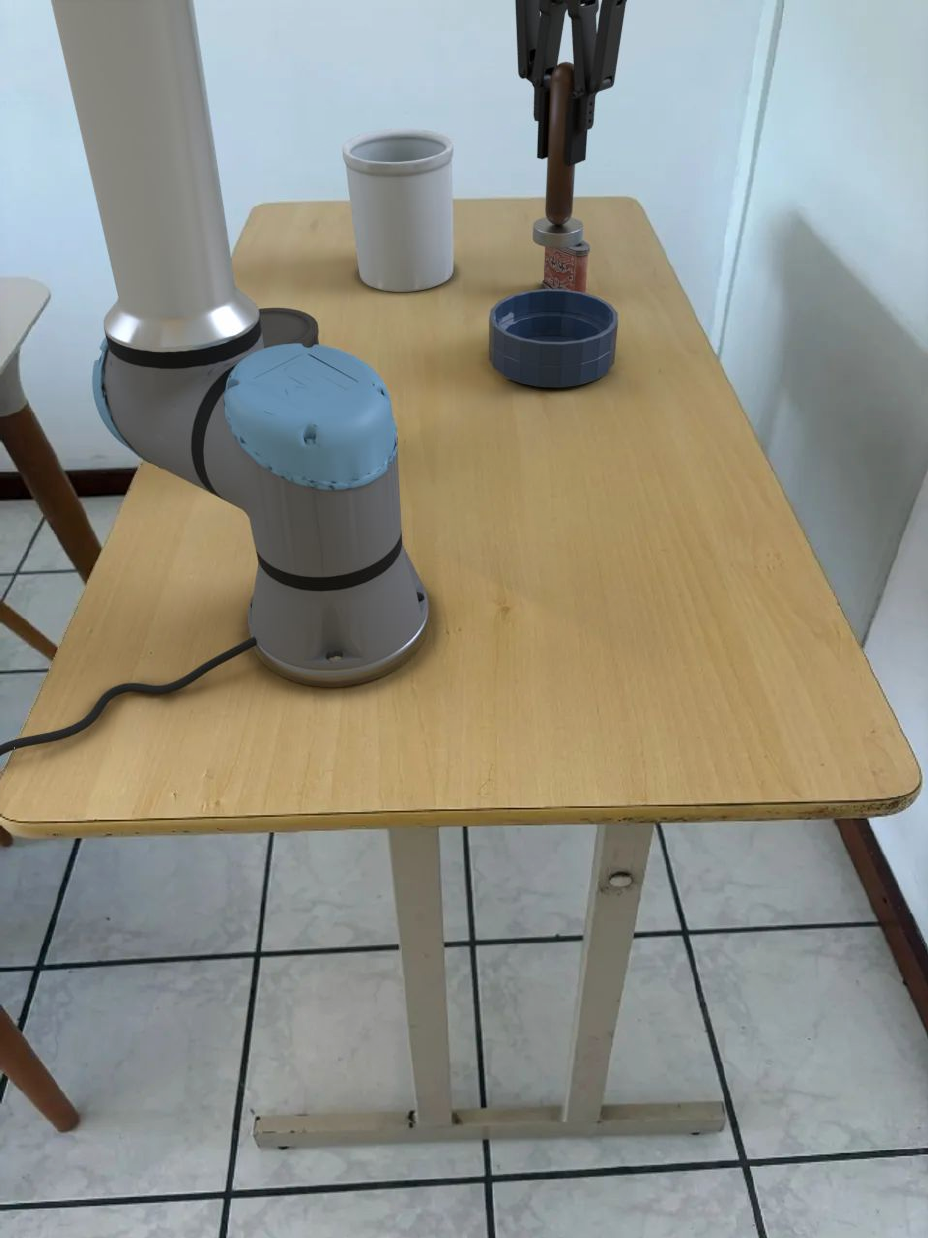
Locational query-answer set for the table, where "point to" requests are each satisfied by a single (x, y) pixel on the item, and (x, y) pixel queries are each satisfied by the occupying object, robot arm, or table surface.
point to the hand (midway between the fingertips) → (561, 158)
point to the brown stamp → (559, 170)
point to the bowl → (552, 337)
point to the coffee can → (288, 327)
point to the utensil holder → (401, 207)
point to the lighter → (566, 267)
